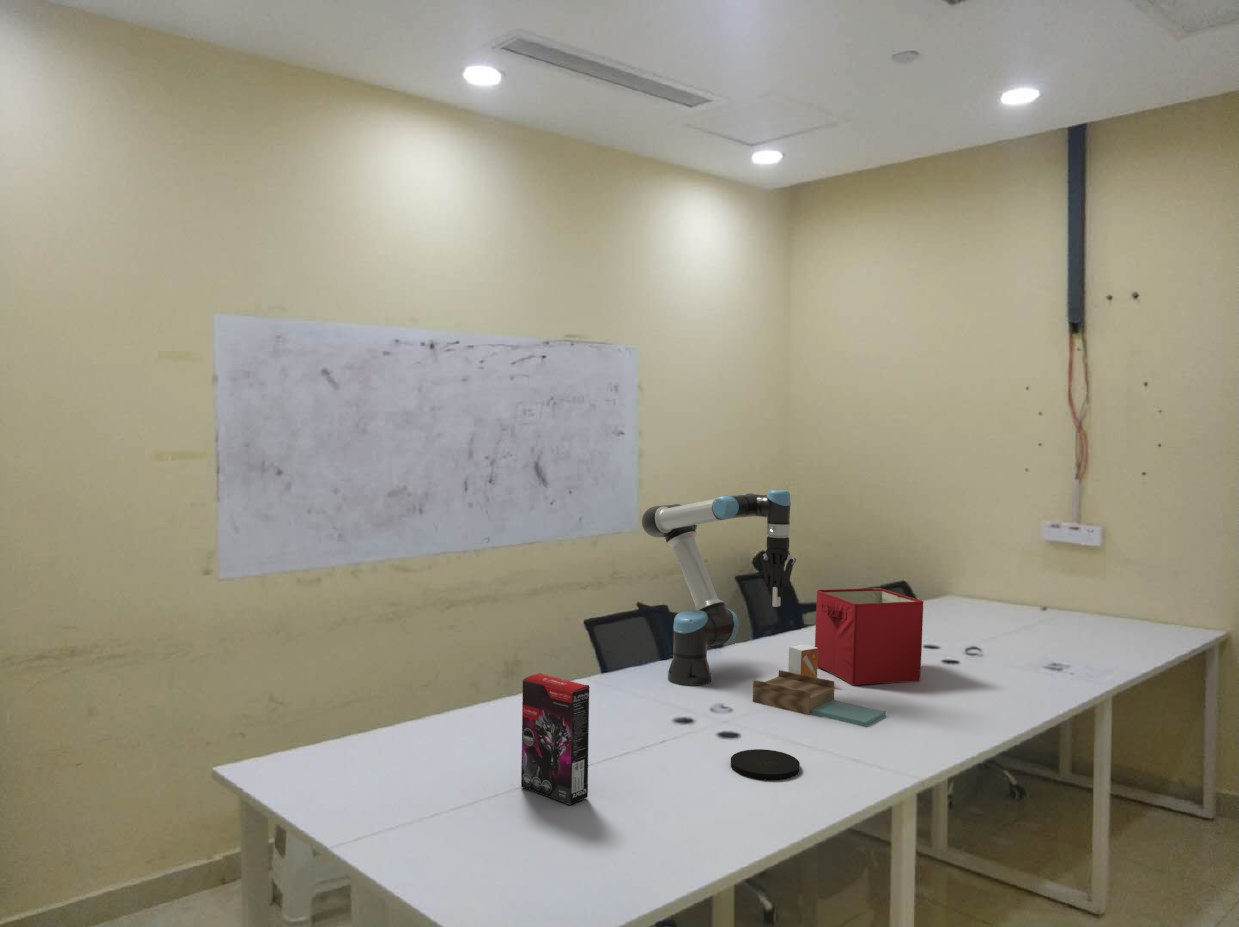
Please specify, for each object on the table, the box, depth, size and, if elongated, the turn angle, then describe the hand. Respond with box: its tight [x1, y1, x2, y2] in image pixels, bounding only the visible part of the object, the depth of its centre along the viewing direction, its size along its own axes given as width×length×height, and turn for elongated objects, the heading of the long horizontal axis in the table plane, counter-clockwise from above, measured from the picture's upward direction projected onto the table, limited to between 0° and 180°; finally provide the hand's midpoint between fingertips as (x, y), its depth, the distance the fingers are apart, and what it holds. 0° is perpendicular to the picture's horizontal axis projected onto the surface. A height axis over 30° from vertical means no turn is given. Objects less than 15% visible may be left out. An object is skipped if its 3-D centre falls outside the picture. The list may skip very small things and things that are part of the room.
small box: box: [787, 643, 818, 678], centre depth 321 cm, size 8×6×13 cm
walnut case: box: [752, 669, 835, 716], centre depth 301 cm, size 20×17×7 cm
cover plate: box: [810, 699, 887, 728], centre depth 289 cm, size 18×14×2 cm
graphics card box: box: [520, 673, 590, 805], centre depth 224 cm, size 17×7×27 cm, turn 51°
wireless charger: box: [730, 748, 801, 782], centre depth 243 cm, size 18×18×2 cm
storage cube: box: [814, 587, 924, 686], centre depth 336 cm, size 32×28×29 cm
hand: (776, 605), depth 314 cm, fingers closed
